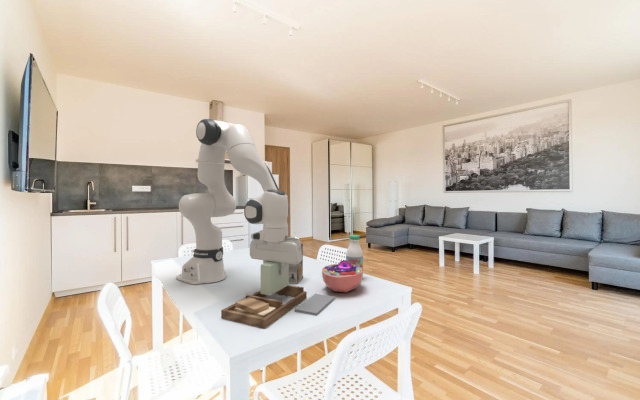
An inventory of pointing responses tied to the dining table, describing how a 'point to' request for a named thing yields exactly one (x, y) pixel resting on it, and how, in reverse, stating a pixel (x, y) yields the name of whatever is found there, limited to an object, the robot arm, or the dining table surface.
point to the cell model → (342, 276)
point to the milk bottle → (355, 252)
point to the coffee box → (296, 271)
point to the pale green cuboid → (273, 278)
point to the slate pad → (315, 304)
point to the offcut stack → (253, 307)
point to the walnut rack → (275, 315)
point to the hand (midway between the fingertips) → (275, 273)
